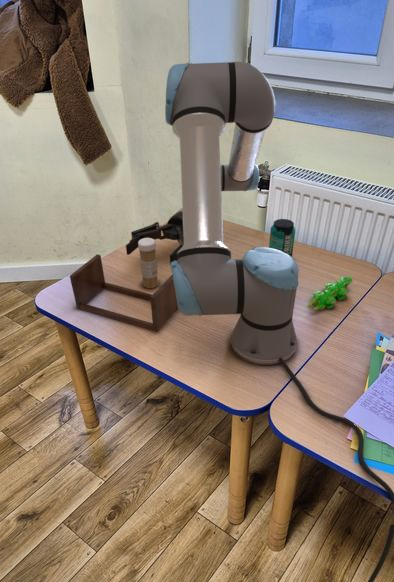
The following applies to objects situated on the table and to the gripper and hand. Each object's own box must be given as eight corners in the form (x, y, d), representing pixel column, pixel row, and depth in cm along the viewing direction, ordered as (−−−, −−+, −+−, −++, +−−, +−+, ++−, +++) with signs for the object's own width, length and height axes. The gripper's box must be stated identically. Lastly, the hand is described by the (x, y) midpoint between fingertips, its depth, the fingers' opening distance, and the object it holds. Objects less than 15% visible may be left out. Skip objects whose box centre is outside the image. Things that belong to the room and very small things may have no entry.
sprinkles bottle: (152, 278, 134) (148, 235, 125) (161, 285, 131) (158, 241, 123) (139, 284, 132) (134, 240, 123) (148, 290, 129) (144, 247, 120)
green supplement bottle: (291, 255, 143) (296, 218, 135) (291, 267, 138) (296, 229, 130) (268, 254, 144) (271, 217, 136) (267, 265, 138) (270, 228, 131)
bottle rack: (157, 331, 115) (154, 298, 109) (76, 308, 123) (69, 275, 117) (179, 306, 123) (178, 273, 117) (102, 285, 131) (96, 254, 125)
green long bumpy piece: (358, 290, 127) (361, 277, 125) (319, 318, 118) (322, 305, 115) (337, 281, 131) (340, 268, 128) (298, 308, 122) (300, 294, 119)
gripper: (221, 242, 139) (190, 277, 124) (148, 227, 147) (111, 258, 133) (222, 218, 134) (190, 251, 119) (146, 204, 142) (108, 233, 128)
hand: (148, 255), depth 126 cm, fingers open, 13 cm apart
